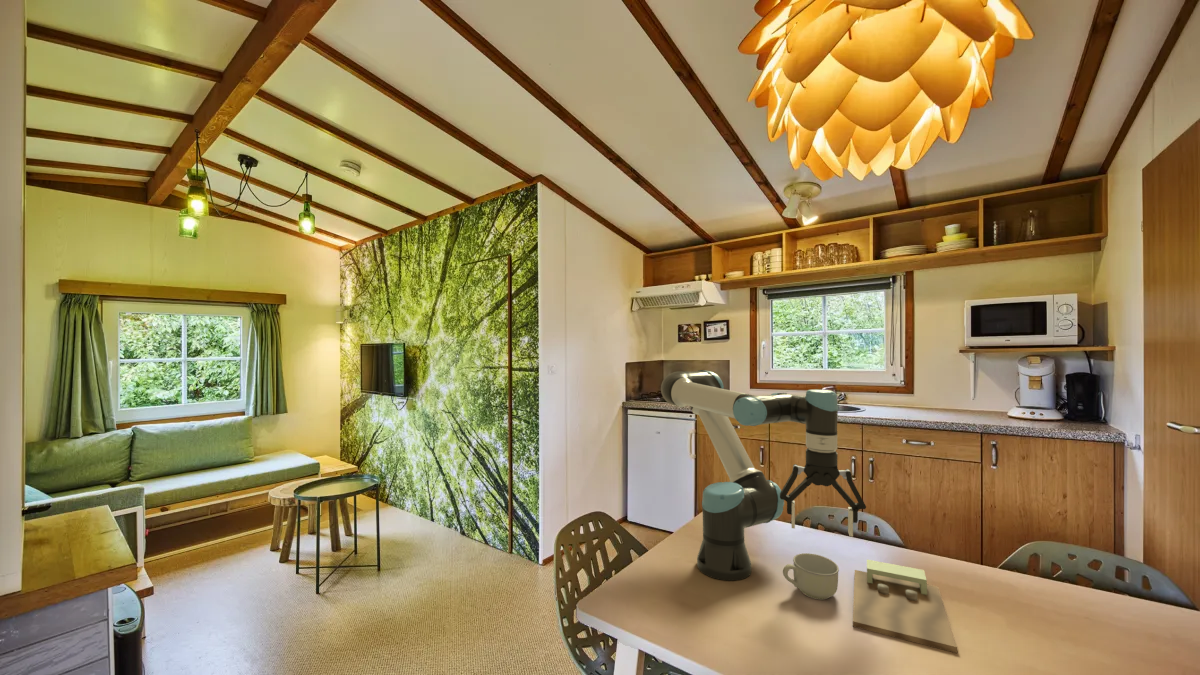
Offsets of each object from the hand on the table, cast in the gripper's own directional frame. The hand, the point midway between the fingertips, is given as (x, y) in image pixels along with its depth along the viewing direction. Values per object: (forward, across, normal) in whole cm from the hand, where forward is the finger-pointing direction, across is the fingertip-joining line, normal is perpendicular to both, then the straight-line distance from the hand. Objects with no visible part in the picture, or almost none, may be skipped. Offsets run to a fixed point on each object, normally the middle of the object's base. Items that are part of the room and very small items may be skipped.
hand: (821, 530), depth 120 cm
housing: (+14, +18, +8) cm, 25 cm away
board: (+15, +17, -2) cm, 23 cm away
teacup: (+16, -3, -2) cm, 16 cm away
